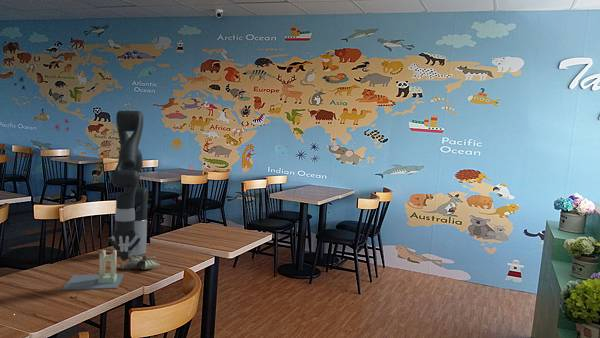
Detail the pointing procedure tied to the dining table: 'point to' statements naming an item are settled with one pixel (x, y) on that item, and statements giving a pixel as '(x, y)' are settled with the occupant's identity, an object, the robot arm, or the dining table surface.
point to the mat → (90, 282)
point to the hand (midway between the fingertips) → (124, 260)
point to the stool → (102, 263)
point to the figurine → (140, 262)
